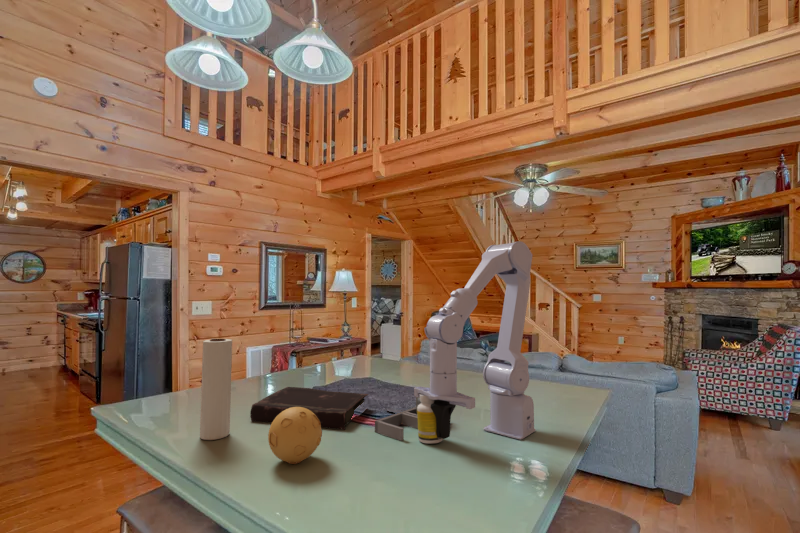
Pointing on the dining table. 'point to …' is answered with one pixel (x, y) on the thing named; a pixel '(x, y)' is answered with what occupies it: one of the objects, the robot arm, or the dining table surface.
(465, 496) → the dining table surface
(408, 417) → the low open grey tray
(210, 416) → the paper towel roll
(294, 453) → the stress ball
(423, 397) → the supplement bottle
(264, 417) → the diary
